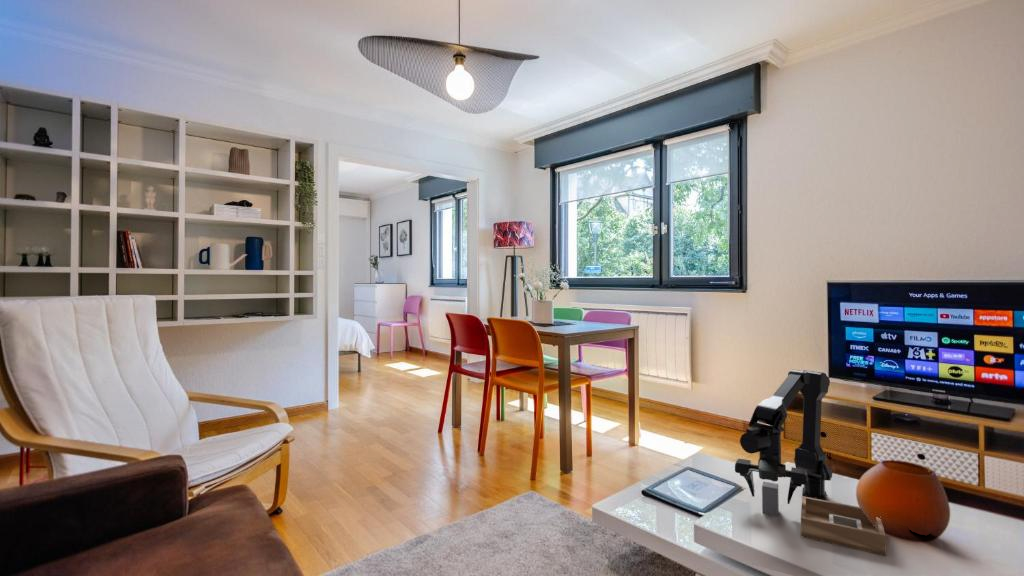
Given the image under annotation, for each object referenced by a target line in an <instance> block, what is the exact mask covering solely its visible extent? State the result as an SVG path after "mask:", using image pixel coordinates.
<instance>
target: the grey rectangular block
mask: <svg viewBox="0 0 1024 576" xmlns="http://www.w3.org/2000/svg"><path fill="white" fill-rule="evenodd" d="M779 498H780V497H779V484H778V483H774V482H773V483H772V482H769V481H762V485H761V500H762V502H761V505H762V508H761V509H762V514H766V515H771V516H774V517H778V516H779V512H780V507H779V506H780V505H779V500H780V499H779Z"/></svg>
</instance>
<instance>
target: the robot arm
mask: <svg viewBox="0 0 1024 576" xmlns="http://www.w3.org/2000/svg"><path fill="white" fill-rule="evenodd" d="M830 385H831V380H830V377H829V376H828V375H827V374H826V373H825V372H821V371H814V370H807V369H806V370H805V369H804V370H799V369H790V370H789V371H788V373H787V377H785V379H784V380H783V382H781V384H780V386H779V387H778V388H776V390H775V392H774V393H773V395H772V396H770V397H768V398H765V399H763V400H761V402H760V403H758V404H757V405H756V406H755V408H754V411H753V413H752V416H751V417H750V421H749V422H748V426H747V427H749V428H746V431H745V432H744V433H743V434H741V436H740V438H739V444H740V447H741V448H742V449H743V450H744V451H745V453H747V454H752V455H753V454H756V453H758V454H759V458H758V460H757V461H758V463H757V464H752V461H751V460H749V459H744V458H738V459H736V461H735V464H734V473H736V474H739V476H740V477H743V478H744V479H745V481H746V482H747V485H748V487H749V491H750V493H751V496H752V497H753V498H755V483H754V476H753V472H756V473H757V472H758V478H759V479H760V480H768V481H771V482H778V481H779V478H789V479H790V481H789V486H788V494H787V504H788V505H790V503H791V500H792V497H793V494H794V492H795V491H796V490H797V488H798V487H800V488H801V487H802V486H803V487H802V492H801V493H802V494H801V495H802V496H804V497H809V498H814V499H820V500H825V501H828V500H827V491H826V488H825V485H826V482H825V481H831V479H832V478H833V470H832V469H831V467H830V466H829V464H828V463H827V456H826V453H825V450H824V449H823V448H822V446H821V430H822V425H821V424H822V401H823V399H824V398H825V397H826V395H827V394H828V392H829V386H830ZM799 393H800V394H801V396H802V397H803V407H802V408H803V411H802V413H803V414H802V441H801V444H800V445H799V446H798V447H796V448H795V449H794V459H793V461H794V464H795V465H794V466H795V467H793V466H791V470H789V469H787V466H786V464H783V463H782V435H781V434H782V433H781V432H784V431H785V428H784V427H783V425H784V423H785V421H786V419H787V417H788V411H787V410H788V407H789V406H790V404H791V403H792V402H793V401H794V399H795V398H796V397H797V396H798V394H799Z"/></svg>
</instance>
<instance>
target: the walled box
mask: <svg viewBox="0 0 1024 576" xmlns="http://www.w3.org/2000/svg"><path fill="white" fill-rule="evenodd" d="M860 507H861V506H856V505H850V504H845V503H841V502H835V501H829V500H824V499H819V498H813V497H808V496H803V495H802V496H801V508H800V509H801V510H800V537H801V538H805V539H809V540H813V541H819V542H822V543H829V544H833V545H836V546H839V547H840V546H841V547H845V548H849V549H853V550H859V551H862V552H867V553H871V554H876V555H879V556H880V555H881V556H885V557H886V556H887V539H886V537H887V536H886V532H885V528H884V525H883V522H882V519H880V518H881V517H880V518H878V517H876V521H875V526H873V524H872V523H871V522H870V521H869V520H868V518H867V517H866V515H865V514H864V513H863V511H862V509H861V508H860Z"/></svg>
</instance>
